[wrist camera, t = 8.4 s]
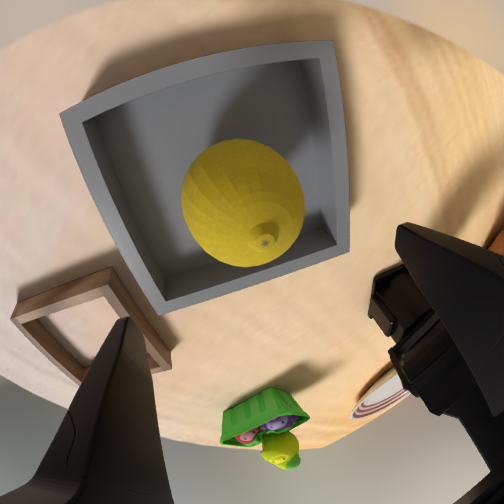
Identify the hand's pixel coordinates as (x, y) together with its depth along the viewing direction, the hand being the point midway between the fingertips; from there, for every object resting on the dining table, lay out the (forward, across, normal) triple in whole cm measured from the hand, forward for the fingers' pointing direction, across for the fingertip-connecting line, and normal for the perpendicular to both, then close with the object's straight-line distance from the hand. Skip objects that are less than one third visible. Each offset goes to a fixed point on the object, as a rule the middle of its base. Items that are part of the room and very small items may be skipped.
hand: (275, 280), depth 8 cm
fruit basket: (+11, +4, +34) cm, 36 cm away
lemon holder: (+11, +15, +10) cm, 21 cm away
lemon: (+10, 0, 0) cm, 10 cm away
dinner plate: (+11, -25, +51) cm, 58 cm away
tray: (+11, 0, 0) cm, 11 cm away
